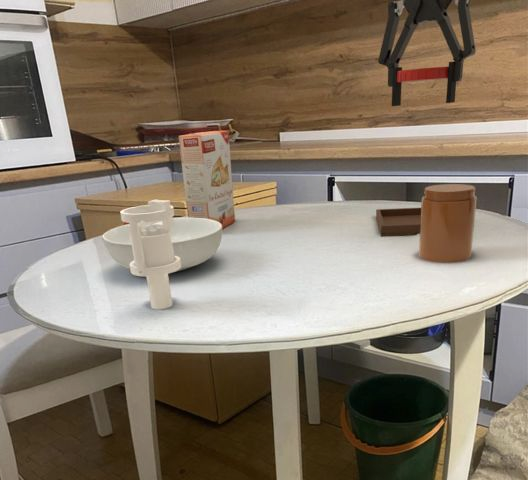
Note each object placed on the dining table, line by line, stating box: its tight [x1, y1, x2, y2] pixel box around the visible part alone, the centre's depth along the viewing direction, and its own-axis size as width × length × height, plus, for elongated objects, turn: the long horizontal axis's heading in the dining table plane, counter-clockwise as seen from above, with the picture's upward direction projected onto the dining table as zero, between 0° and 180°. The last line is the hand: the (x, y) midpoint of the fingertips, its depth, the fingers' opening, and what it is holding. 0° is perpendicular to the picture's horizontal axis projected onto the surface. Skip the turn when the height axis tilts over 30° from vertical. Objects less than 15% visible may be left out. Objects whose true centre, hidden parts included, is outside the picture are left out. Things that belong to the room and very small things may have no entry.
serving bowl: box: [102, 216, 223, 273], centre depth 95 cm, size 21×21×7 cm
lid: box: [397, 66, 449, 83], centre depth 97 cm, size 10×10×2 cm
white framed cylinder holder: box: [119, 199, 181, 310], centre depth 74 cm, size 7×7×15 cm
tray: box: [375, 207, 421, 237], centre depth 113 cm, size 18×14×2 cm
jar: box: [418, 183, 478, 264], centre depth 87 cm, size 8×8×12 cm
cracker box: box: [178, 130, 236, 229], centre depth 121 cm, size 14×6×21 cm, turn 160°
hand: (422, 104), depth 99 cm, fingers closed on lid, 9 cm apart
